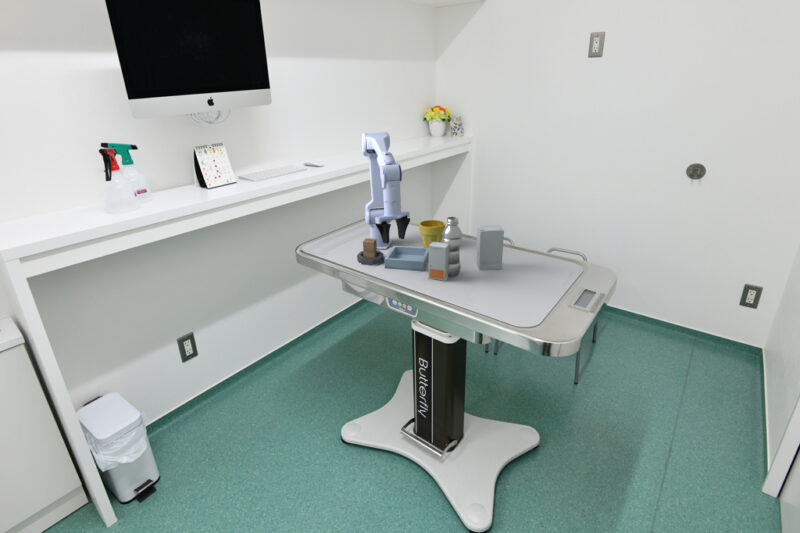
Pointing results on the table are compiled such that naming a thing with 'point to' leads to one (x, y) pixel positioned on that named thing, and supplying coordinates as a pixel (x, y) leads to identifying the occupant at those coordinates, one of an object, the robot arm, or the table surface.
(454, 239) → the silver metal bottle
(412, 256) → the bin
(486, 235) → the skincare box
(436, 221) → the plant pot
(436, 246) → the skincare box
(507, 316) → the table surface
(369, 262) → the collar
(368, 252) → the peg
